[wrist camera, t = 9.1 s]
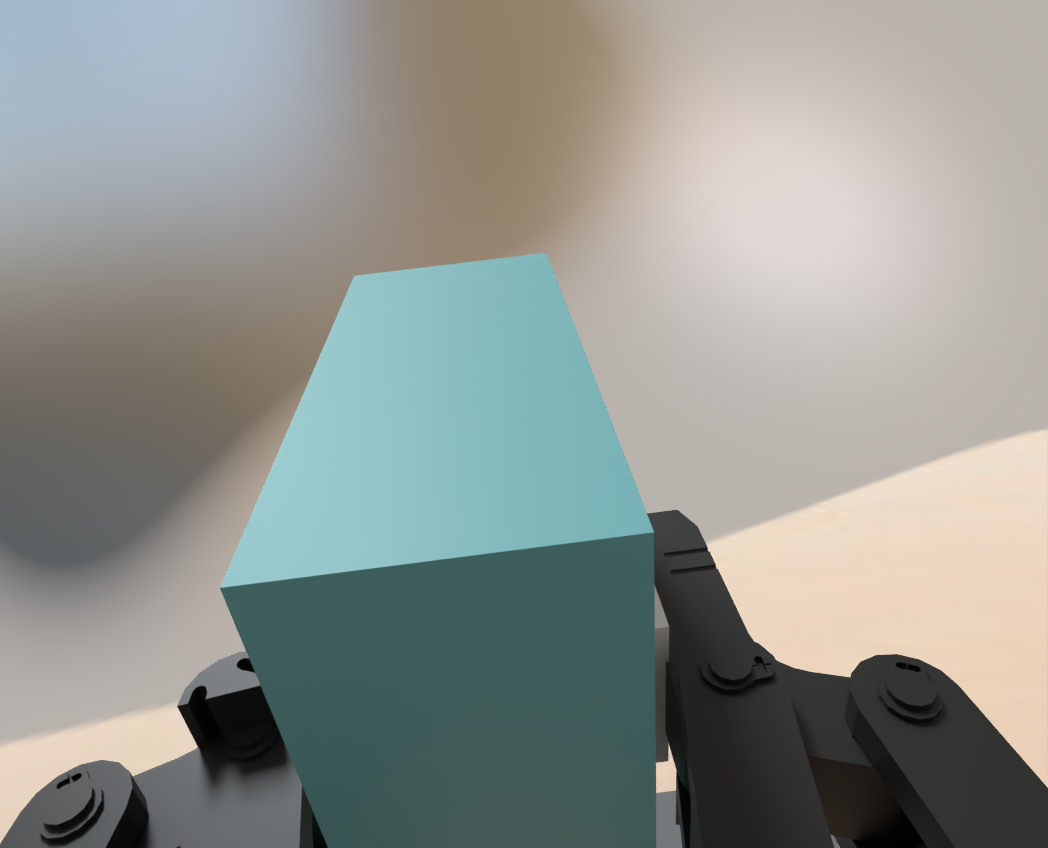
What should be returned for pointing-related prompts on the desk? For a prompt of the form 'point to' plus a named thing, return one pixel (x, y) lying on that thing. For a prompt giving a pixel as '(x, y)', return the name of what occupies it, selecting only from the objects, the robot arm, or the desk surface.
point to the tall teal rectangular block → (456, 576)
